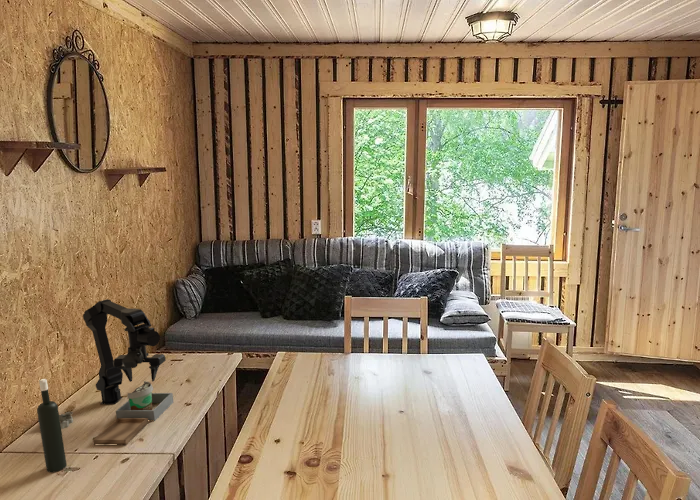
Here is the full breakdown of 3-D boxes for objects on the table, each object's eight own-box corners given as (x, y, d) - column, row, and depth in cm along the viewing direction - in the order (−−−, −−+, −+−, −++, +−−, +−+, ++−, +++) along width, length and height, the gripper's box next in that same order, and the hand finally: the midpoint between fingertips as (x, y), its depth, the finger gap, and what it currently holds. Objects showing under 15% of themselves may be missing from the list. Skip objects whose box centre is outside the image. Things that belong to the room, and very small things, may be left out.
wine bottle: (45, 474, 177) (31, 384, 172) (47, 465, 182) (33, 378, 177) (66, 469, 179) (52, 380, 174) (67, 461, 184) (53, 374, 179)
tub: (117, 421, 212) (115, 411, 211) (138, 402, 228) (136, 393, 227) (154, 420, 210) (153, 410, 209) (173, 402, 226) (172, 392, 225)
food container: (144, 418, 212) (141, 394, 211) (129, 418, 213) (126, 393, 212) (161, 404, 224) (158, 381, 222) (147, 404, 225) (144, 380, 224)
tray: (93, 445, 194) (93, 439, 194) (118, 423, 210) (117, 418, 209) (126, 445, 192) (125, 439, 192) (148, 423, 208) (147, 418, 208)
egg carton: (75, 420, 215) (74, 410, 214) (65, 430, 208) (64, 419, 207) (48, 421, 215) (47, 411, 215) (37, 431, 208) (35, 420, 207)
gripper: (102, 350, 208) (108, 390, 210) (150, 349, 205) (155, 389, 208) (118, 340, 219) (123, 378, 221) (163, 339, 216) (168, 377, 219)
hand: (142, 381), depth 217 cm, fingers open, 9 cm apart
